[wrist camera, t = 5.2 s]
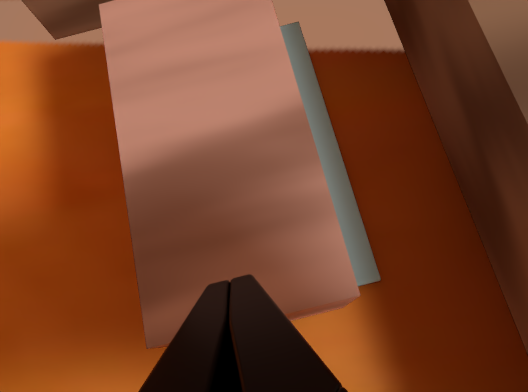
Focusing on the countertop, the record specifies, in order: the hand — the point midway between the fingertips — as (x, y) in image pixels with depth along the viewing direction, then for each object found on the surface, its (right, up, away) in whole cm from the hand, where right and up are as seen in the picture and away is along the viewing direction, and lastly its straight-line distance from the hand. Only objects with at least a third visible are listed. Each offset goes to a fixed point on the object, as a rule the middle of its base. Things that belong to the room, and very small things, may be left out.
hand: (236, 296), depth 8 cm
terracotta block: (0, -2, +4) cm, 4 cm away
